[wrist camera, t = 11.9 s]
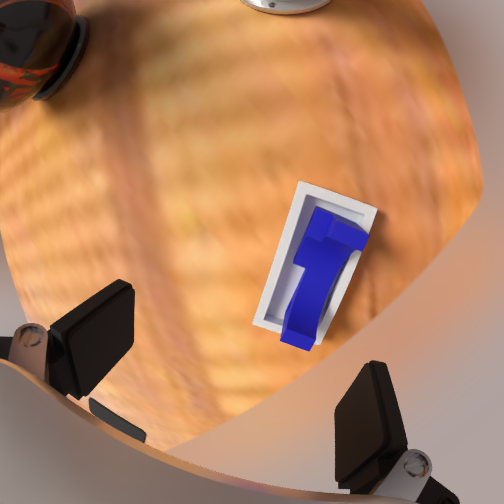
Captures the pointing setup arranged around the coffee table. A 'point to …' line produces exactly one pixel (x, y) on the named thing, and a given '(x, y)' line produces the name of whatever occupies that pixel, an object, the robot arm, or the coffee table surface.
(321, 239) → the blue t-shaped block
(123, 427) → the phone
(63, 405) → the robot arm
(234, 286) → the coffee table surface
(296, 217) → the tray
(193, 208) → the coffee table surface
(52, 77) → the amphora vase
